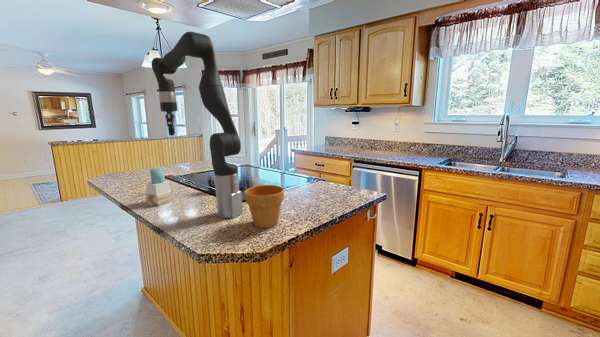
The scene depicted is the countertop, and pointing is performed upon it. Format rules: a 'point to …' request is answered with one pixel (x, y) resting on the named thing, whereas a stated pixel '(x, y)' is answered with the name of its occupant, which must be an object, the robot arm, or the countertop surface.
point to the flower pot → (265, 204)
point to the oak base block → (159, 199)
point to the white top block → (158, 188)
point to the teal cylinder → (156, 176)
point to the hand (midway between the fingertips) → (172, 134)
